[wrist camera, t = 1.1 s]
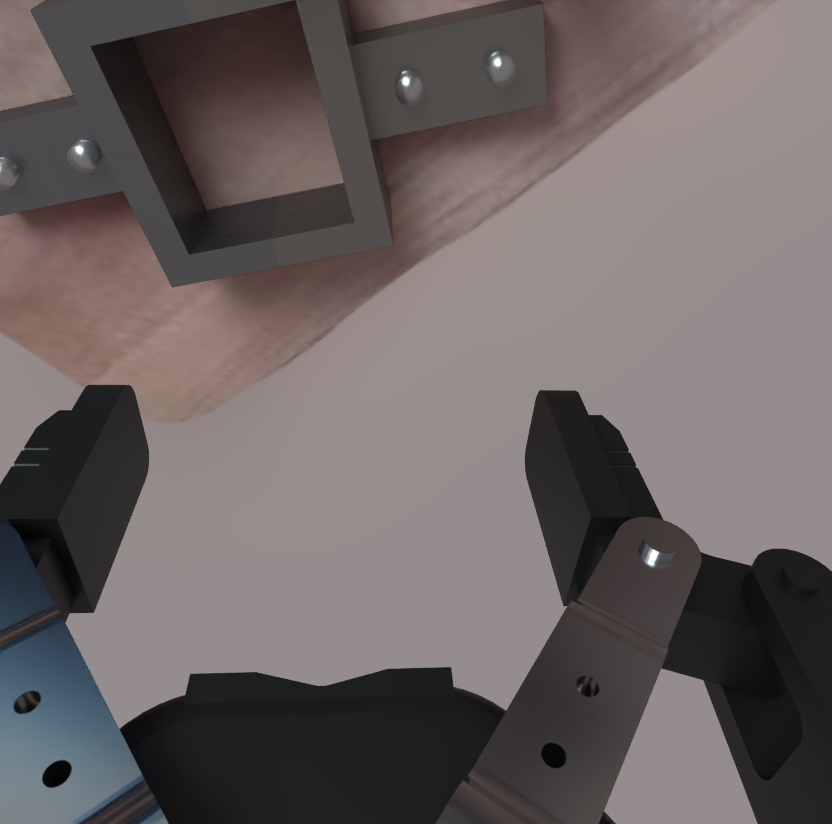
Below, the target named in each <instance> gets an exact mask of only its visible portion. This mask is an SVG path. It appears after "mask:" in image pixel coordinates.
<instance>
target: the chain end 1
mask: <svg viewBox="0 0 832 824" xmlns="http://www.w3.org/2000/svg"><path fill="white" fill-rule="evenodd" d="M30 11H31V13H32V15H33V17H34V19H35V21H36V23H37V25H38V27H39V29H40V30H41V32H42V34H43V36H44V38H45V40H46V42H47V44H48V46H49V48H50V50H51V52H52V54H53V56H54V58H55V60H56V62H57V64H58V66H59V68H60V69H61V71H62V73H63V75H64V77H65V79H66V81H67V83H68V85H69V87H70V89H71V91H72V93H73V95H72V96H68V97H63V98H59V99H54V100H50V101H45V102H40V103H36V104H31V105H27V106H22V107H18V108H13V109H8V110H4V111H0V216H3V215H8V214H13V213H18V212H23V211H28V210H33V209H38V208H43V207H47V206H52V205H57V204H62V203H67V202H72V201H77V200H82V199H87V198H91V197H96V196H101V195H106V194H111V193H116V192H121V191H123V192H124V194H125V196H126V198H127V200H128V202H129V204H130V206H131V208H132V210H133V212H134V214H135V216H136V218H137V220H138V222H139V224H140V226H141V227H142V229H143V231H144V233H145V235H146V237H147V239H148V241H149V243H150V245H151V247H152V249H153V251H154V253H155V255H156V257H157V259H158V261H159V263H160V265H161V266H162V268H163V270H164V272H165V274H166V276H167V278H168V280H169V282H170V284H171V286H172V287H177V286H182V285H187V284H193V283H198V282H203V281H208V280H214V279H219V278H224V277H230V276H235V275H240V274H245V273H251V272H256V271H261V270H266V269H272V268H277V267H281V265H280V262H279V260H278V257H277V254H276V252H275V249H274V246H273V243H272V241H271V236H272V231H273V227H274V222H275V218H276V213H277V209H278V204H279V200H280V196H277V197H272V198H267V199H262V200H257V201H252V202H247V203H242V204H237V205H232V206H227V207H222V208H217V209H212V210H207V211H206V209H205V207H204V205H203V202H202V200H201V198H200V195H199V193H198V191H197V188H196V186H195V184H194V181H193V179H192V177H191V174H190V172H189V170H188V167H187V165H186V163H185V160H184V158H183V156H182V154H181V151H180V149H179V147H178V144H177V142H176V140H175V137H174V135H173V133H172V130H171V128H170V126H169V123H168V121H167V119H166V116H165V114H164V112H163V109H162V107H161V105H160V102H159V100H158V98H157V95H156V93H155V91H154V88H153V86H152V84H151V81H150V79H149V77H148V74H147V72H146V70H145V67H144V65H143V63H142V61H141V58H140V56H139V54H138V51H137V49H136V47H135V44H134V42H133V40H132V37H133V36H138V35H142V34H147V33H151V32H156V31H160V30H164V29H169V28H173V27H178V26H182V25H187V24H191V21H190V18H189V16H188V13H187V10H186V7H185V5H184V2H183V0H45V1H43V2H42V3H40V4H39V5H37V6H35V7H34V8H32V9H31V10H30Z"/></svg>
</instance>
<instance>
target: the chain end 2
mask: <svg viewBox="0 0 832 824" xmlns="http://www.w3.org/2000/svg"><path fill="white" fill-rule="evenodd" d="M289 1H293V0H183V2H184V5H185V7H186V10H187V13H188V16H189V18H190V21H191V23H196V22H200V21H204V20H209V19H213V18H218V17H222V16H227V15H231V14H236V13H240V12H244V11H249V10H253V9H258V8H262V7H267V6H271V5H276V4H280V3H284V2H289ZM296 4H297V7H298V11H299V15H300V19H301V23H302V26H303V30H304V34H305V38H306V41H307V45H308V49H309V53H310V56H311V60H312V64H313V68H314V71H315V75H316V79H317V83H318V86H319V90H320V94H321V98H322V101H323V105H324V109H325V113H326V117H327V120H328V124H329V128H330V132H331V135H332V139H333V143H334V147H335V150H336V154H337V158H338V162H339V165H340V169H341V173H342V177H343V180H344V183H342V184H337V185H332V186H327V187H322V188H317V189H312V190H307V191H302V192H297V193H292V194H287V195H282V196H280V200H279V204H278V209H277V213H276V218H275V222H274V227H273V231H272V236H271V241H272V243H273V246H274V249H275V252H276V254H277V257H278V260H279V262H280V265H281V267H282V266H287V265H293V264H298V263H303V262H308V261H314V260H319V259H324V258H330V257H335V256H340V255H345V254H351V253H356V252H361V251H366V250H372V249H377V248H382V247H387V246H393V232H392V214H391V201H390V196H389V192H388V187H387V182H386V178H385V173H384V169H383V164H382V160H381V155H380V151H379V146H378V141H377V139H380V138H385V137H390V136H395V135H400V134H405V133H410V132H414V131H419V130H424V129H429V128H434V127H439V126H444V125H449V124H454V123H458V122H463V121H468V120H473V119H478V118H483V117H488V116H493V115H498V114H503V113H507V112H512V111H517V110H522V109H527V108H532V107H537V106H542V105H547V84H546V59H545V34H544V9H543V3H542V2H541V1H540V0H507V1H502V2H497V3H493V4H488V5H484V6H479V7H475V8H470V9H465V10H461V11H456V12H452V13H447V14H443V15H438V16H433V17H429V18H424V19H420V20H415V21H411V22H406V23H401V24H397V25H392V26H388V27H383V28H379V29H374V30H369V31H365V32H360V33H356V34H354V32H353V27H352V23H351V18H350V14H349V9H348V5H347V0H296Z"/></svg>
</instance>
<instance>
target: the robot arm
mask: <svg viewBox="0 0 832 824" xmlns="http://www.w3.org/2000/svg"><path fill="white" fill-rule="evenodd" d="M628 450H629V449H628V448H627V445H626V443H625V441H624V439H623V437H622V435H621V433H620V431H619V430H618V429H616V428H615V427H614V426H613V425H612V424H611V423H610V422H609V421H608V420H607V419H605V418H604V417H603V416H602V415H588V413H587V410H586V408H585V406H584V404H583V401H582V399H581V397H580V395H579V393H578V392H577V391H550V390H548V391H546V390H540V391H539V392H538V394H537V397H536V401H535V406H534V411H533V415H532V420H531V425H530V430H529V435H528V440H527V445H526V452H525V471H526V477H527V481H528V484H529V488H530V491H531V495H532V498H533V502H534V505H535V509H536V512H537V515H538V519H539V522H540V526H541V529H542V533H543V537H544V540H545V543H546V547H547V550H548V554H549V557H550V561H551V564H552V568H553V571H554V575H555V578H556V582H557V585H558V589H559V592H560V595H561V599H562V603H563V606H567V608H566V610H565V611H564V613H563V615H562V616H561V618H560V620H559V622H558V623H557V625H556V627H555V629H554V630H553V632H552V634H551V635H550V637H549V639H548V640H547V642H546V644H545V646H544V647H543V649H542V651H541V652H540V654H539V656H538V658H537V659H536V661H535V663H534V665H533V666H532V668H531V670H530V671H529V673H528V675H527V676H526V678H525V680H524V682H523V683H522V685H521V687H520V688H519V690H518V692H517V693H516V695H515V697H514V699H513V700H512V702H511V704H510V705H509V707H508V709H507V711H506V710H504V709H502V708H501V707H499V706H498V705H496V704H495V703H493V702H491V701H489V700H487V699H485V698H483V697H481V696H479V695H477V694H474V693H472V692H469V691H466V690H463V689H459V688H455V687H453V680H452V671H451V668H450V667H442V668H403V669H387V670H383V671H379V672H375V673H372V674H368V675H364V676H361V677H357V678H353V679H350V680H346V681H343V682H339V683H335V684H331V685H327V686H315V685H311V684H306V683H301V682H297V681H292V680H288V679H283V678H279V677H274V676H270V675H266V674H261V673H257V672H246V673H210V674H190V677H189V682H188V686H187V690H186V695H184V696H180V697H177V698H174V699H171V700H169V701H166V702H164V703H161V704H159V705H157V706H155V707H153V708H151V709H149V710H147V711H145V712H143V713H142V714H140V715H139V716H137V717H136V718H134V719H132V720H131V721H130V722H128V723H127V724H125V725H124V726H123V727H121V729H119V728H118V726H117V724H116V722H115V720H114V718H113V716H112V714H111V712H110V710H109V708H108V706H107V704H106V702H105V700H104V698H103V696H102V694H101V692H100V690H99V688H98V686H97V684H96V682H95V680H94V678H93V676H92V675H91V672H90V670H89V669H88V667H87V665H86V663H85V661H84V659H83V657H82V655H81V653H80V651H79V649H78V647H77V645H76V643H75V641H74V639H73V637H72V635H71V634H70V631H69V629H68V627H67V625H66V620H67V618H68V615H69V613H94V611H95V608H96V606H97V603H98V600H99V598H100V595H101V593H102V590H103V587H104V585H105V582H106V580H107V577H108V575H109V572H110V570H111V567H112V564H113V562H114V559H115V557H116V554H117V552H118V549H119V546H120V544H121V541H122V539H123V536H124V534H125V531H126V528H127V526H128V523H129V521H130V518H131V516H132V513H133V510H134V508H135V505H136V503H137V500H138V497H139V495H140V492H141V489H142V487H143V485H144V482H145V479H146V476H147V472H148V467H149V450H148V444H147V440H146V437H145V432H144V428H143V424H142V420H141V416H140V412H139V408H138V404H137V400H136V396H135V392H134V390H133V388H132V387H131V386H129V385H88V386H86V387H85V389H84V390H83V392H82V394H81V395H80V397H79V399H78V400H77V402H76V404H75V405H74V407H73V409H72V410H71V411H70V410H59V411H58V412H56V413H55V414H54V415H52V416H51V417H50V418H48V419H47V420H46V421H44V422H43V423H42V424H40V425H39V426H38V427H37V428H36V429H35V431H34V432H33V434H32V436H31V437H30V439H29V440H28V442H27V444H26V445H25V450H24V451H21V453H20V454H19V456H18V457H17V459H16V461H15V462H14V464H15V465H14V467H11V468H10V470H9V472H8V473H7V475H6V476H5V478H4V479H3V481H2V482H1V484H0V824H616V823H615V822H614V821H613V820H612V819H611V818H610V817H609V816H608V815H607V814H606V813H605V812H604V809H605V807H606V804H607V802H608V799H609V797H610V794H611V792H612V789H613V787H614V784H615V782H616V779H617V777H618V775H619V772H620V770H621V767H622V765H623V762H624V760H625V757H626V754H627V752H628V750H629V747H630V745H631V742H632V740H633V737H634V735H635V732H636V730H637V727H638V725H639V722H640V719H641V717H642V715H643V712H644V710H645V707H646V705H647V702H648V700H649V697H650V695H651V692H652V690H653V687H654V685H655V682H656V680H657V677H658V675H659V672H660V670H661V668H662V669H666V670H669V671H673V672H676V673H680V674H684V675H687V676H691V677H694V678H698V679H702V680H704V683H705V686H706V688H707V691H708V693H709V696H710V699H711V701H712V704H713V707H714V709H715V712H716V715H717V717H718V720H719V723H720V725H721V728H722V730H723V733H724V736H725V738H726V741H727V744H728V746H729V749H730V751H731V754H732V757H733V760H734V762H735V765H736V767H737V770H738V773H739V775H740V778H741V780H742V783H743V786H744V789H745V791H746V794H747V797H748V799H749V802H750V804H751V807H752V810H753V812H754V815H755V818H756V820H757V823H758V824H832V571H830V570H829V569H828V568H827V567H826V566H824V565H823V564H821V563H820V562H819V561H817V560H815V559H813V558H811V557H809V556H807V555H805V554H802V553H799V552H797V551H793V550H788V549H770V550H766V551H764V552H762V553H761V554H759V555H758V556H757V558H756V559H755V561H754V562H753V564H752V566H750V565H745V564H742V563H738V562H734V561H729V560H725V559H721V558H717V557H713V556H710V555H707V554H704V553H701V552H700V550H699V548H698V546H697V544H696V543H695V541H694V540H693V539H692V538H691V537H690V536H689V535H688V534H687V533H686V532H685V531H684V530H682V529H681V528H679V527H678V526H676V525H674V524H672V523H670V522H667V521H664V520H663V518H662V516H661V514H660V512H659V510H658V508H657V506H656V504H655V502H654V500H653V498H652V496H651V494H650V492H649V490H648V488H647V486H646V484H645V482H644V480H643V478H642V476H641V474H640V471H639V470H638V468H636V463H635V462H634V459H633V457H632V455H631V453H629V452H628Z"/></svg>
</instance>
